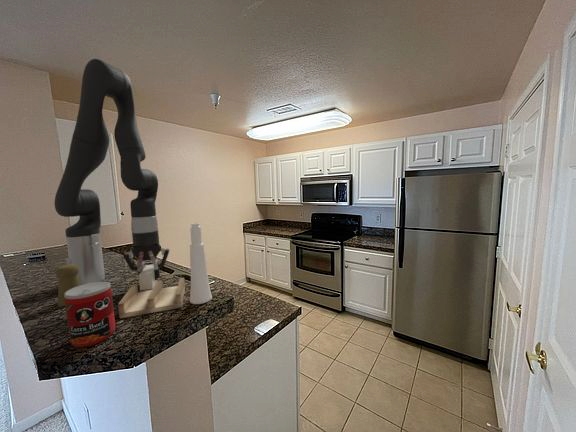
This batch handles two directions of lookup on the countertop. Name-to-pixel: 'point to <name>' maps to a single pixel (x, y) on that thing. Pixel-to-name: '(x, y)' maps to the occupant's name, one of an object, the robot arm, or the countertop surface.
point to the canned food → (90, 313)
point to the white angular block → (147, 278)
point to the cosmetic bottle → (198, 268)
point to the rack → (151, 299)
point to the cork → (66, 280)
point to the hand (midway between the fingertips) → (149, 280)
